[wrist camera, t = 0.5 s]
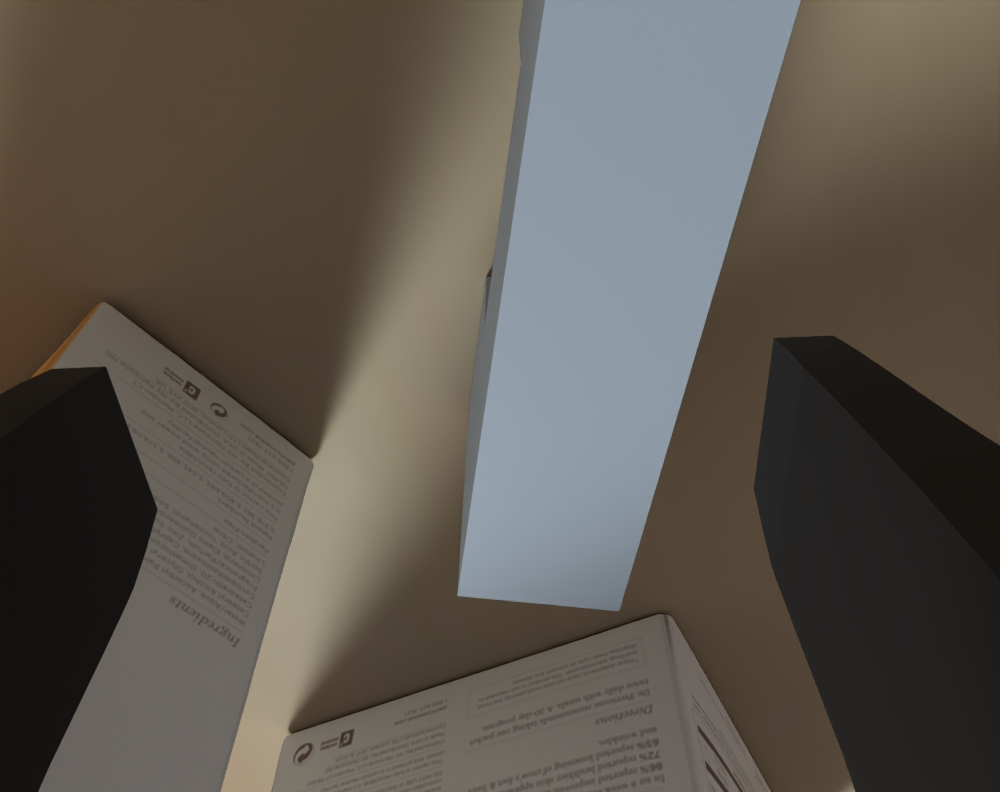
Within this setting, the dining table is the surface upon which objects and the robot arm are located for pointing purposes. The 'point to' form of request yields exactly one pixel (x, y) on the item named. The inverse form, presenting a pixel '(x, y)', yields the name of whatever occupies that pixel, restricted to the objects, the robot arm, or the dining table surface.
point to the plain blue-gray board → (604, 278)
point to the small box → (181, 573)
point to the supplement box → (541, 728)
